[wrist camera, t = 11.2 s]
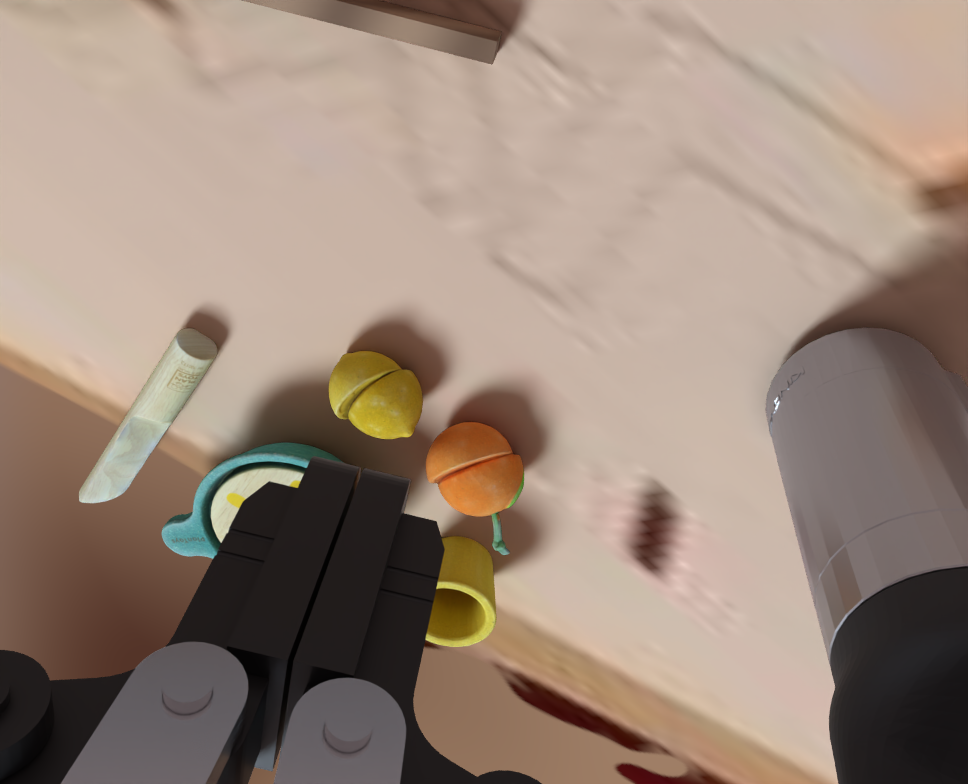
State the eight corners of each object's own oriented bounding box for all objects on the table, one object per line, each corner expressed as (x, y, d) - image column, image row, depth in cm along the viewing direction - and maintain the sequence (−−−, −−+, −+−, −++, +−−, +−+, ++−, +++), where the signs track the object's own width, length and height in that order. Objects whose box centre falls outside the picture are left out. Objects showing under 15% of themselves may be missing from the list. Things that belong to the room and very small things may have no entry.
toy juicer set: (575, 396, 52) (570, 481, 45) (490, 597, 62) (476, 690, 56) (96, 251, 50) (21, 318, 44) (90, 483, 60) (29, 564, 54)
